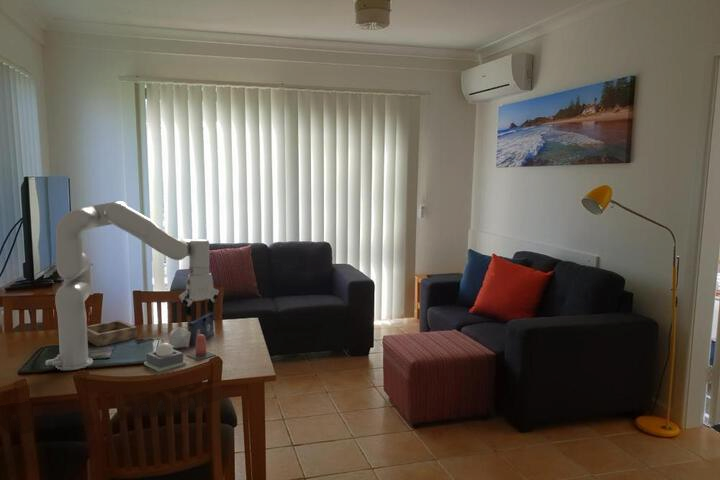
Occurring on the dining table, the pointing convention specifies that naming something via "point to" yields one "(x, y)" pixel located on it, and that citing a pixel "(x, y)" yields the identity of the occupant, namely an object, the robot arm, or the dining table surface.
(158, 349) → the popper dome
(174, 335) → the die
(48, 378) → the dining table surface
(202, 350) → the pawn
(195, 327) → the vhs cassette tape
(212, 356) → the coaster
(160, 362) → the popper base
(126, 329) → the snack corral
